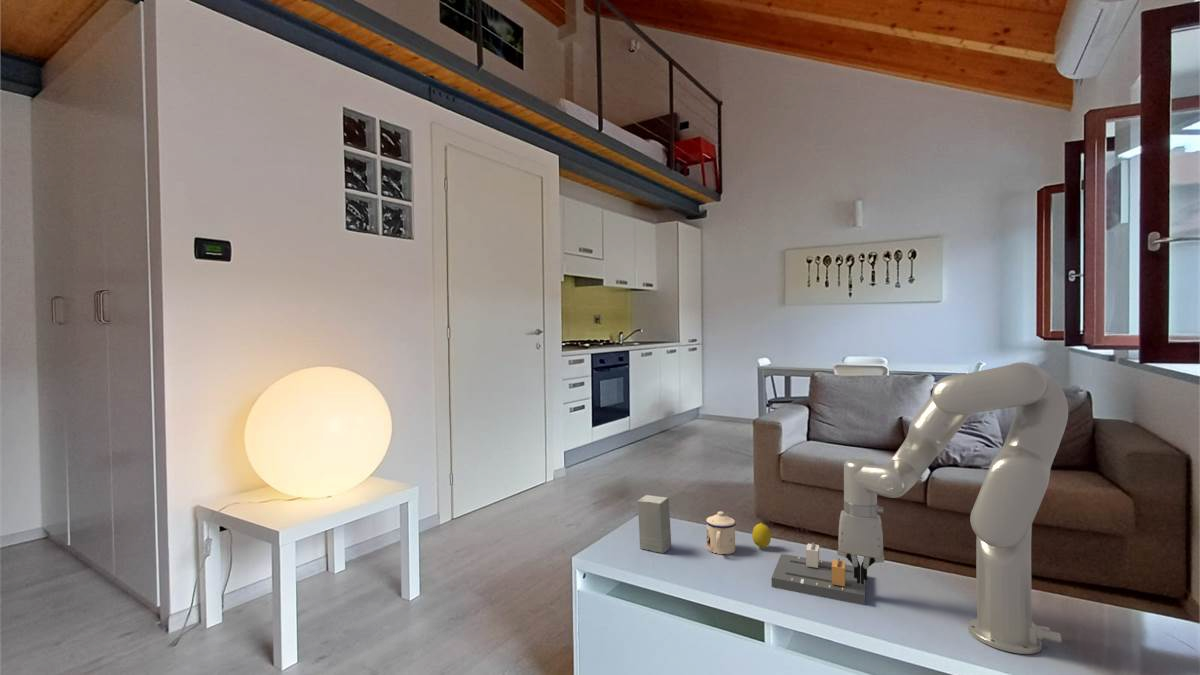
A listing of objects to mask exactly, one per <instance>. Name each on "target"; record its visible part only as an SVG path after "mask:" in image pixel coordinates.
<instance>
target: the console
mask: <svg viewBox="0 0 1200 675" xmlns="http://www.w3.org/2000/svg"><path fill="white" fill-rule="evenodd" d="M832 562H833V561H828V560H821V559H819V565H818V568H815V567H810V566H806V557H803V556H797V555H793V554H786V553H781V554H780V555H779V559H778V561H777V562H776V563H777V564H776V565H775V568H774V571H773V573H772V576H771V578H770V579H771V588H776V589H781V590H786V591H789V592H790V591H791V592H795V593H801V594H805V595H811V596H817V597H821V598H827V599H832V600H836V601H837V600H838V601H841V602H842V601H843V602H846V603H847V602H848V603H853V604H858V605H862V604H863V605H862V606H865V605H866V580H864V584H862V583H861V566H860V583H857V578H854V566H853V564H852V565H851V564H846V563H845V571H846V579H845V586H839V585H834V584H832Z"/></svg>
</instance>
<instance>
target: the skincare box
mask: <svg viewBox="0 0 1200 675" xmlns="http://www.w3.org/2000/svg"><path fill="white" fill-rule="evenodd" d="M637 511H638V512H637V513H638V533H639V549H640V550H643V549H645V550H644V551H648V550H650V551H649V552H654V553H660V554H664V553H665V552H666V551H668V550H669V549H670V548H671V547H672V534H671V533H672V532H671V531H672V530H671V516H670V499H669V497H666V496H656V495H649V494H645V495H644V496H643V497H640V498H639V499H638V500H637Z"/></svg>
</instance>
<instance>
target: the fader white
mask: <svg viewBox="0 0 1200 675" xmlns="http://www.w3.org/2000/svg"><path fill="white" fill-rule="evenodd" d="M805 558H806V566H810V567H815V568H818V565H819V560H820V544H815V542H812V543H807V545H806V548H805Z"/></svg>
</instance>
